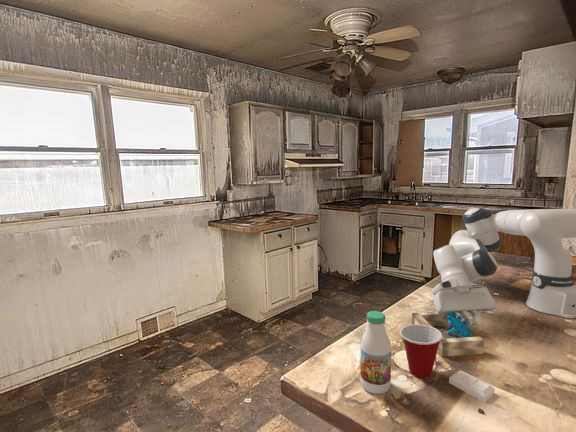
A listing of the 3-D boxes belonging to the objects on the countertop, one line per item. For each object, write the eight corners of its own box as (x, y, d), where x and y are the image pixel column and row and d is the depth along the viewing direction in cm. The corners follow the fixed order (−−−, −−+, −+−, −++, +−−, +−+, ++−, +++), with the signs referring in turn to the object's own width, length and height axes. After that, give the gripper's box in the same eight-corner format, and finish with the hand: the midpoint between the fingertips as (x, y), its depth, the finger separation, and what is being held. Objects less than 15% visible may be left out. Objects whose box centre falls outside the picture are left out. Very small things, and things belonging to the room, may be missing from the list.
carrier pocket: (446, 322, 118) (447, 310, 117) (483, 353, 98) (484, 339, 98) (411, 324, 117) (412, 313, 117) (441, 356, 97) (442, 342, 97)
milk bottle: (356, 377, 89) (356, 308, 86) (383, 374, 90) (384, 306, 87) (365, 396, 82) (366, 322, 79) (395, 393, 82) (396, 320, 79)
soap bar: (458, 377, 89) (459, 368, 88) (494, 395, 81) (494, 386, 81) (448, 384, 86) (449, 374, 86) (484, 403, 79) (485, 394, 78)
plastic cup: (402, 356, 98) (402, 319, 96) (441, 366, 93) (443, 326, 91) (395, 377, 89) (396, 337, 87) (439, 389, 84) (441, 346, 82)
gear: (466, 343, 101) (445, 314, 106) (451, 351, 104) (431, 322, 109) (479, 335, 108) (459, 308, 113) (464, 342, 112) (445, 316, 117)
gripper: (480, 287, 120) (497, 325, 112) (427, 291, 118) (440, 329, 110) (490, 280, 115) (508, 319, 107) (434, 284, 113) (448, 324, 105)
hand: (473, 325), depth 109 cm, fingers closed
